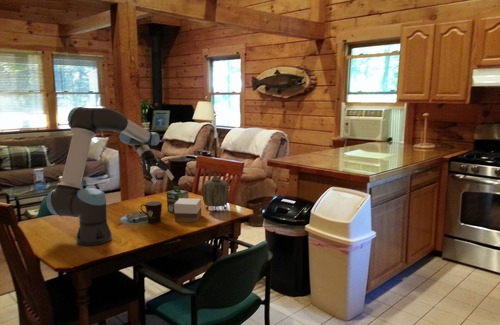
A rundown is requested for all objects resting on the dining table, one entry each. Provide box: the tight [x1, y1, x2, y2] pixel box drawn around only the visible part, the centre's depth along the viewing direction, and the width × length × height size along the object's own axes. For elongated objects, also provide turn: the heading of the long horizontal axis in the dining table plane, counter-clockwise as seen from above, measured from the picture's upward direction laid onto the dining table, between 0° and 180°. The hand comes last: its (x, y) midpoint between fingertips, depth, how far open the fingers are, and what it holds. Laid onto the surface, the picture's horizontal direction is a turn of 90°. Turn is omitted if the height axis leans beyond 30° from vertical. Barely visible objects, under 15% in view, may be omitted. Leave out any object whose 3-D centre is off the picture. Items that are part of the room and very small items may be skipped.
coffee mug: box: [139, 200, 163, 224], centre depth 205 cm, size 12×9×10 cm
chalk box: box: [166, 185, 189, 213], centre depth 224 cm, size 9×9×15 cm
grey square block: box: [174, 207, 202, 223], centre depth 211 cm, size 12×12×5 cm
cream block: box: [173, 197, 202, 214], centre depth 210 cm, size 12×12×5 cm
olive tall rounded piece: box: [202, 168, 229, 213], centre depth 223 cm, size 14×9×25 cm, turn 92°
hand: (164, 180), depth 229 cm, fingers open, 13 cm apart
